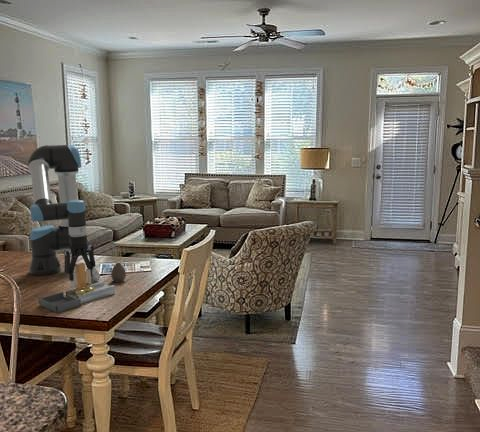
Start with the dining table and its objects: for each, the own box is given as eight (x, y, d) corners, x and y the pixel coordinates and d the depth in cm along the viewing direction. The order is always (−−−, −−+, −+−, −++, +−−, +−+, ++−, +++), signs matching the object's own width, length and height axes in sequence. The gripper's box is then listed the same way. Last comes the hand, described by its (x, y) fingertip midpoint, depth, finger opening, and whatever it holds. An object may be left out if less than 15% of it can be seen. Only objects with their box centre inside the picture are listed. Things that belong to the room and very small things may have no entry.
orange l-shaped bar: (75, 291, 214) (73, 263, 212) (81, 289, 216) (79, 261, 214) (82, 293, 210) (80, 265, 208) (88, 291, 213) (86, 264, 210)
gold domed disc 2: (83, 292, 206) (83, 287, 205) (91, 290, 209) (91, 285, 208) (88, 294, 203) (88, 289, 203) (96, 292, 206) (96, 287, 206)
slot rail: (66, 299, 203) (65, 291, 203) (102, 288, 217) (101, 281, 216) (78, 304, 197) (78, 296, 196) (115, 293, 210) (114, 285, 210)
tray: (39, 305, 196) (38, 298, 196) (63, 298, 204) (62, 291, 204) (56, 313, 187) (56, 306, 187) (81, 305, 195) (80, 298, 195)
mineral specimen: (104, 284, 223) (103, 271, 222) (88, 287, 220) (87, 273, 219) (99, 276, 237) (98, 263, 236) (84, 278, 234) (83, 265, 233)
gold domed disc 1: (73, 295, 202) (73, 290, 202) (82, 292, 205) (81, 288, 205) (79, 297, 200) (78, 292, 200) (87, 294, 203) (87, 290, 203)
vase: (113, 278, 232) (113, 261, 230) (127, 278, 232) (127, 261, 230) (109, 283, 225) (108, 265, 224) (124, 283, 225) (123, 265, 223)
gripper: (61, 240, 199) (65, 292, 203) (102, 232, 214) (105, 281, 218) (52, 237, 204) (56, 288, 208) (92, 230, 219) (95, 278, 223)
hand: (81, 285), depth 213 cm, fingers open, 7 cm apart
